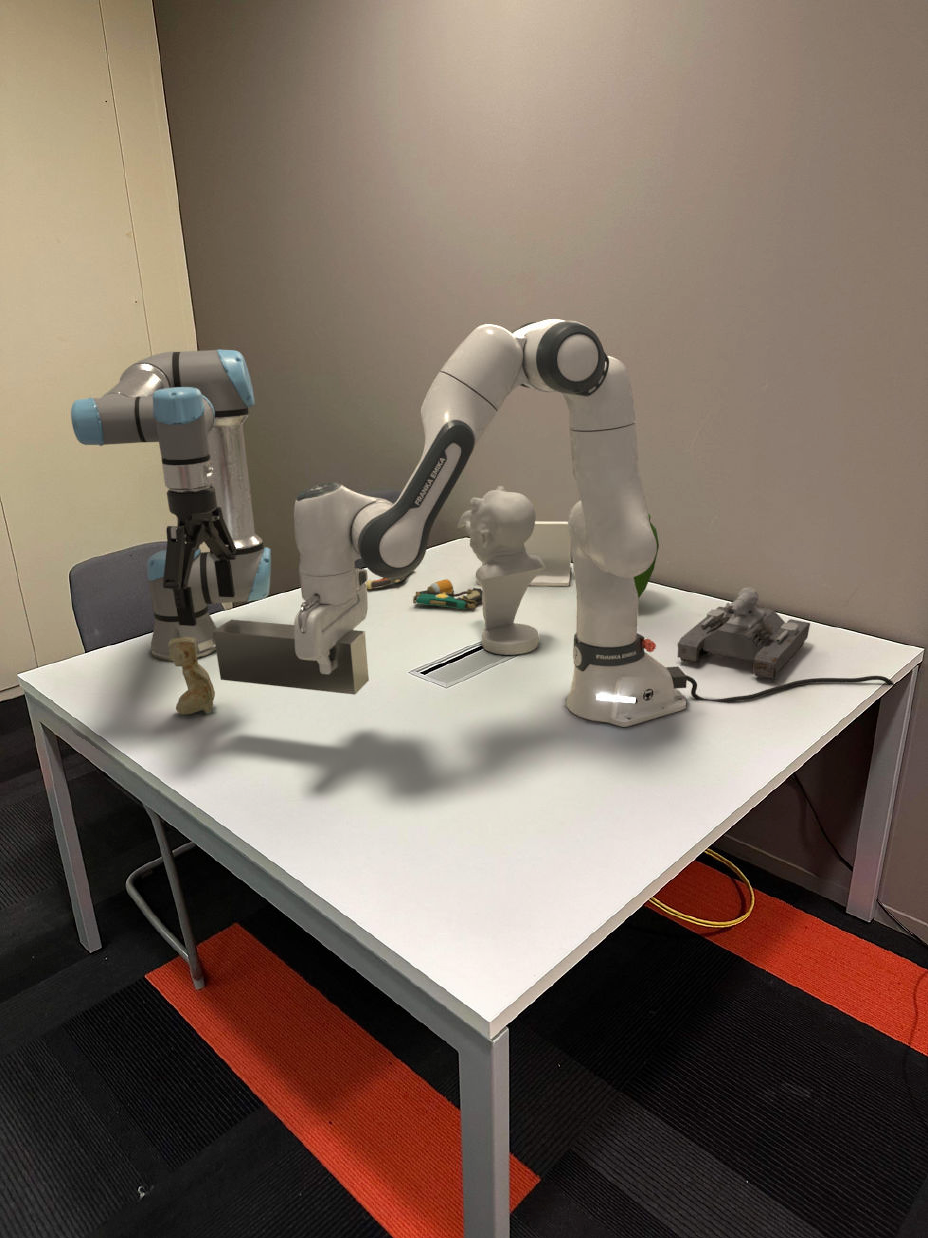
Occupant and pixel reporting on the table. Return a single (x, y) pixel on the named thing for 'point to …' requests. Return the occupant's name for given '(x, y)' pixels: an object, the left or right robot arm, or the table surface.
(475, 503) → the bust sculpture
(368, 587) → the toy gun
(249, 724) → the table surface
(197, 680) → the sculpture
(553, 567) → the tablet stand
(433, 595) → the spray gun
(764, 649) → the toy
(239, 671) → the bar
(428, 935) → the table surface
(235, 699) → the table surface
